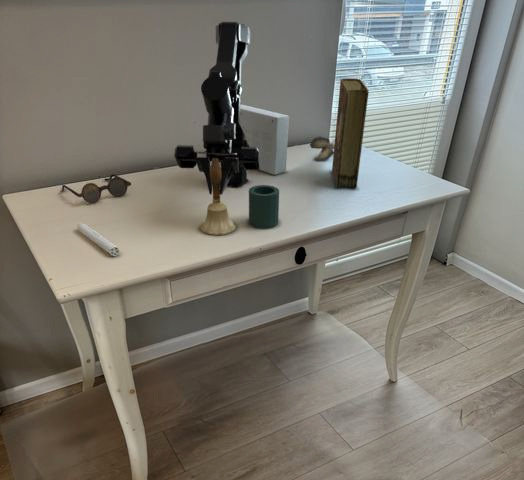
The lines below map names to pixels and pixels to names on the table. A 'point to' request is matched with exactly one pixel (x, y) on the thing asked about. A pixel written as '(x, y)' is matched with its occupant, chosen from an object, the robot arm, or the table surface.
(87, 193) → the eyeglasses
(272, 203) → the jar
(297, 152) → the table surface
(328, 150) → the open clam shell
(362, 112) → the book
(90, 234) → the white cylindrical rod
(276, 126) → the skincare box
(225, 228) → the hand bell
